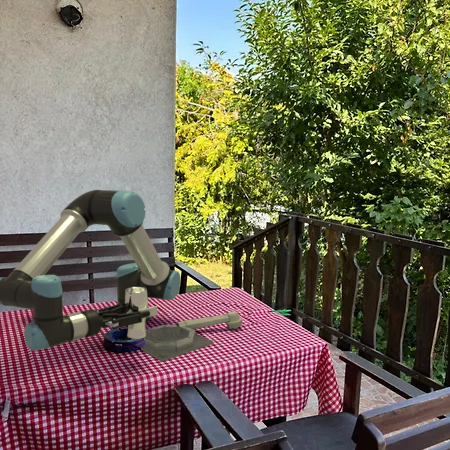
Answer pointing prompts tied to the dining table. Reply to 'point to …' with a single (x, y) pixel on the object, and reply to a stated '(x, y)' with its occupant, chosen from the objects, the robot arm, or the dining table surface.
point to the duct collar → (172, 341)
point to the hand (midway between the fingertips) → (150, 307)
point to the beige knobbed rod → (213, 321)
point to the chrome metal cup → (136, 310)
